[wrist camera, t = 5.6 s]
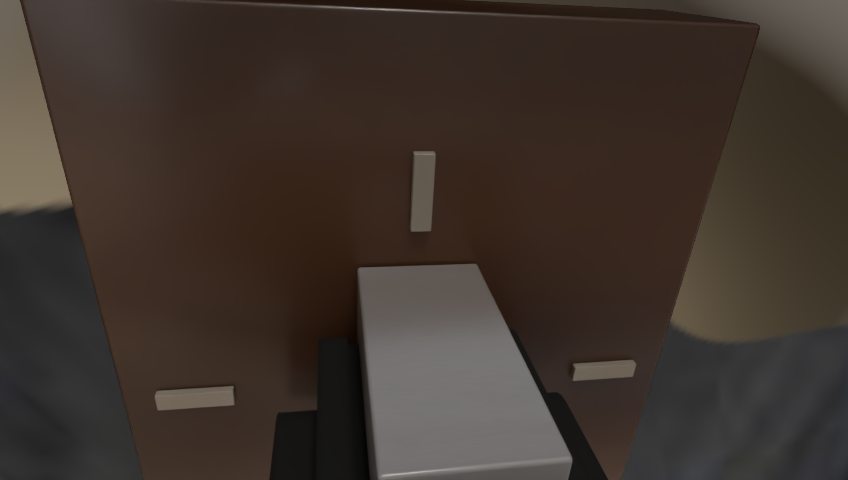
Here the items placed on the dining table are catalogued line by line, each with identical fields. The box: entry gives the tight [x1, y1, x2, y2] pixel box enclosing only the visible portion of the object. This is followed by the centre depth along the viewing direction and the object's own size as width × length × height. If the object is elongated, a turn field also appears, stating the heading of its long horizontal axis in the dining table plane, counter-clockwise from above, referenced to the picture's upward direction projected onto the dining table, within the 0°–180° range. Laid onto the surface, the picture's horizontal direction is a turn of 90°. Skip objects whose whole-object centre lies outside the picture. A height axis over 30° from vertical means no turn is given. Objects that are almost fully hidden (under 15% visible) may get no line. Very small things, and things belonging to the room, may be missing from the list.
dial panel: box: [20, 0, 760, 480], centre depth 12 cm, size 14×11×3 cm
